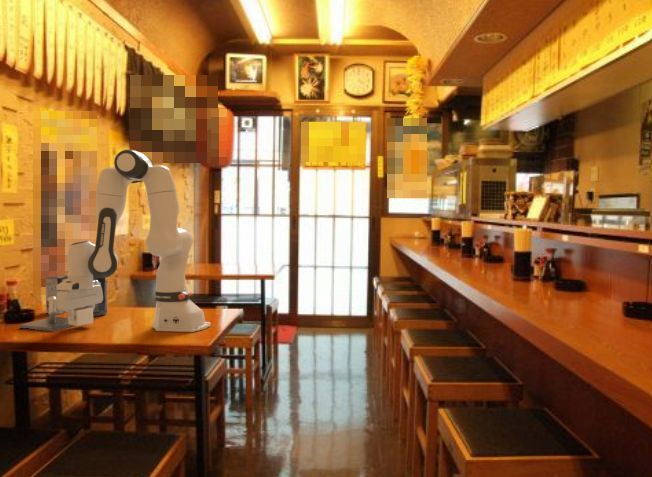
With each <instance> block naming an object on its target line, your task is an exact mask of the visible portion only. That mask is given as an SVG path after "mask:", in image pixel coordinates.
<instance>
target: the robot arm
mask: <svg viewBox="0 0 652 477" xmlns="http://www.w3.org/2000/svg"><path fill="white" fill-rule="evenodd" d="M113 165H114V166H109V167H104V168H103V169H102V170H101V171H100V174H99V176H98V179H97V183H96V188H95V189H96V190H95V201H94V202H95V203H94V204H95V212H96V220H97V230H96V238H95V243H92V242H91V241H89V240H83V241H77V242H73V243H72V244H70V245H68V249H67V255H66V256H67V259H66V260H67V268H68V272H67V276H68V279H66V280H65V281H63V282H61V283H60V284H58V285H57V290H60V291H58V293H57V297H56V305H57V309H58V310H59V311H66V313H67V316H68V315H69V318H70V321H74V320H76V316H74V314H73V312H74V309H76V308H80V307H85V306H88V307H91V308H93V310H94V308H95V304H98V303H101V302H102V301H103V293H102V288H101V283H100V282H99V281H98V280H95V281H93V275H94V276H96V277H99V278H105V279H106V278H109V277H111V276H112V275H113V274H115V273H116V271H117V269H118V265H119V261H120V260H119V256H118V254H117V253H116V252H115V251H114V249H115V248H114V246H115V238H116V237H115V236H116V229H117V225H118V223H119V221H120V219H121V218H122V217H123V214H124V211H125V207H126V202H127V194H128V193H127V192H128V187H129V185H130V184H137V183H143V184H144V186H145V189H146V197H147V203H148V207H149V216H150V220H149V221H150V222H149V223H150V224H149V232H148V235H147V236H146V238H145V247H146V250H147V251H148V252H149V254H151V255H153V256H155V257H160V262H159V265H158V268H156V271H155V272H156V273H155V274H156V276H155V277H156V279H155V282H156V284H155V285H156V286H155V288H156V290H155V292H154V294H155V296H154V299H155V300H154V301H155V313H154V319H153V324H152V328H153V329H154V331H155V332H176V333H177V332H180V333H184V332H185V333H193V332H194V333H195V332H199V331H202V330H205V329H207V328H210V327H211V324H212V323H211V322H210V321H206V320H205V313H204V311H203V309H202V308H200V307H199V306H198V305H196V303H194V302H193V301H192V300H191V298H190V296H191V295H192V291H191V292H188V291H187V289H186V269H187V263H188V259H189V254H190V250H191V248H192V246H193V244H194V243H193V242H194V240H193V236H192V233H191V232H190V231H188V230H186V229H184V228H181V227H178V226H177V225H178V216H179V214H180V206H179V199H178V194H177V188H176V185H175V181H174V178H173V174H172V173H171V169H169V167H167V166H166V165H161V164H157V165H156V164H154V162H153V161H152V159H151V158H150V157H148V156H147V155H145V154H143V152H140V151H137V150H134V149H123V150H120V151H119V152H118V153H117V154H116V155H115V157H114V162H113ZM98 282H99V283H98Z"/></svg>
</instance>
